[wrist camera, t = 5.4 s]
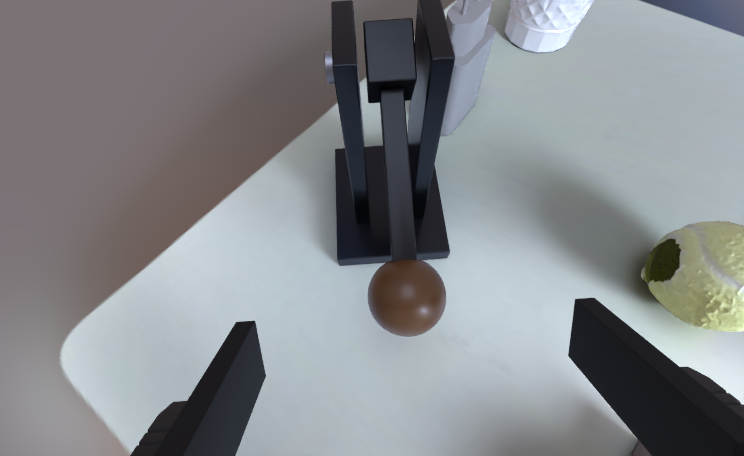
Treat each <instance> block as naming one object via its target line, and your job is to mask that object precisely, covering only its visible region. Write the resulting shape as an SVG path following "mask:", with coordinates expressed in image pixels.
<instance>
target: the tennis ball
mask: <svg viewBox="0 0 744 456" xmlns="http://www.w3.org/2000/svg"><path fill="white" fill-rule="evenodd" d="M641 277H642V279H643V280H645V281H646V282H647V283H648V286H649V290H650V291H651V293H652V294H653V295H654V296H655V297H656V299H657V300H658V301H659V302H660V303H661V304H662V305H663V306H664V307H665V308H666V309H667V310H668V311H669V312H671V313H672V314H673V315H675V317H677V318H679V319H681V320H682V321H683V322H686V323H688V324H689V325H691V326H696V327H700V328H703V329H707V330H716V331H726V332H727V331H734V332H737V331H743V330H744V226H743V225H739V224H735V223H730V222H725V221H723V222H721V221H716V222H700V223H695V224H690V225H687V226H685V227H683V228H681V229H679V230H675V231H673V232H671V233H669V234H667V235H666V236H665V237H663V238H662V239H661V240H660V241H659V242H658V243H657V244H656V245H655V246H654V248H653V249H652V251H651V252H650V253H649V255H648V258H647V261H646V263H645V267H644V269H642V271H641Z"/></svg>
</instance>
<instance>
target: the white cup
mask: <svg viewBox="0 0 744 456" xmlns="http://www.w3.org/2000/svg"><path fill="white" fill-rule="evenodd" d="M592 2H593V0H510V7H509V11H508V15H507V19H506V22H505V34H506V35H507V37H508V38H509V40H510V41H511V42H512V43H514V44H515V45H517V46H518V47H520V48H522V49H525V50H528V51H532V52H537V53H538V52H553V51H555V50H558V49H560V48H563V47H564V46H565V45H566V44H567V43H568V41H569V40H570V39H571V37H572V36H573V34H574V32H575V30H576V28H577V26H578V25H579V23H580V21H581V20H582V19H583V17H584V16H585V14H586V13H587V11H588V9H589V7H590V6H591V4H592Z"/></svg>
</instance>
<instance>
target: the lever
mask: <svg viewBox="0 0 744 456" xmlns="http://www.w3.org/2000/svg"><path fill="white" fill-rule="evenodd" d="M363 28H364V49H365V62H366V77H367V91H368V102H369V103H379V102H380V111H381V124H382V138H383V151H384V165H385V178H386V192H387V206H388V219H389V233H390V246H391V261H389V262H387V263H385V264H384V265H382V266H381V267H380V268H379V269H378V270H377V271H376V273H375V274H374V276H373V277H372V279H371V282H370V284H369V288H368V304H369V308H370V311H371V313H372V315H373V317H374V319H375V320H376V321H377V323H378V324H379V325H380V326H381V327H383V328H384V329H385V330H387V331H389V332H390V333H393V334H395V335H399V336H405V337H411V336H417V335H420V334H423V333H425V332H427V331H428V330H430V329H431V328H432V327H434V326H435V325H436V323H437V322H438V321H439V320H440V318H441V316H442V314H443V312H444V309H445V305H446V291H445V286H444V283H443V281H442V279H441V277H440V275H439V274H438V273H437V271H436V270H435V269H434V268H433V267H432V266H430V265H429V264H428V263H426V262H424V261H422V260H420V259H417V256H416V243H415V230H414V217H413V204H412V191H411V178H410V164H409V151H408V138H407V125H406V112H405V101H406V100H411V99H412V96H413V92H414V88H415V85H416V81H417V69H416V56H415V44H414V31H413V20H412V18H405V19H392V20H378V21H365V22H364V23H363Z"/></svg>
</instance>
